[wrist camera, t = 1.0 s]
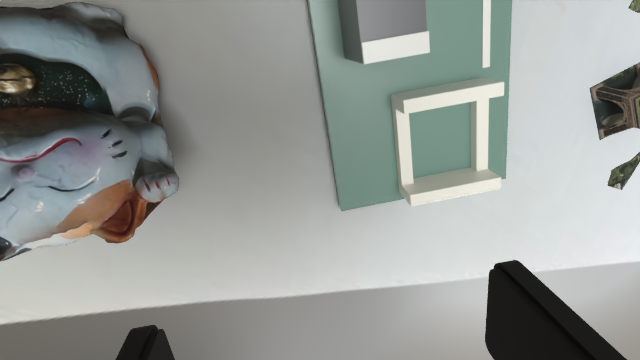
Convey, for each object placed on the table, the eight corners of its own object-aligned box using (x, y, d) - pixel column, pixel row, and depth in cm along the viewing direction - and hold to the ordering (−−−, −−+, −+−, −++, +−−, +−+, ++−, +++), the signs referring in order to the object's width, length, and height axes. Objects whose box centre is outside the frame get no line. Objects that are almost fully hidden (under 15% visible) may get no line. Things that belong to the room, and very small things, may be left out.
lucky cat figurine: (170, 10, 26) (187, 136, 17) (170, 141, 34) (182, 272, 25) (-131, -32, 20) (-341, 131, 11) (-44, 140, 28) (-127, 314, 19)
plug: (335, -17, 26) (353, -32, 20) (391, -26, 26) (425, -44, 20) (344, 58, 27) (364, 64, 22) (396, 49, 28) (429, 52, 22)
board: (299, -49, 26) (304, -65, 22) (504, -82, 26) (544, -103, 22) (339, 205, 33) (347, 227, 29) (498, 173, 34) (527, 191, 30)
